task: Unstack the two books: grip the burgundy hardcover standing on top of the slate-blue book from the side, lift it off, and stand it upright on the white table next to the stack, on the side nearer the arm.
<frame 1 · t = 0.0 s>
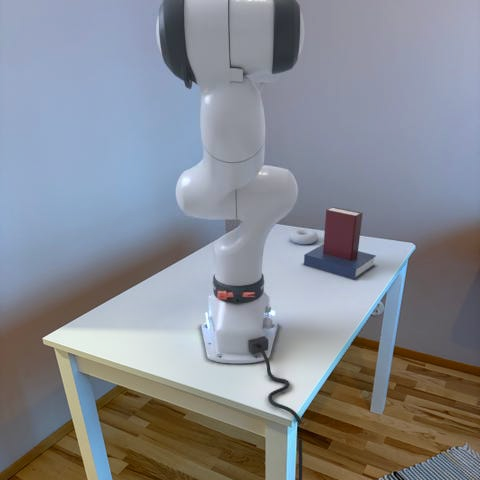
hand: (238, 103, 118), 48 cm above the table, tool pointing down, fingers open, 8 cm apart
burgundy book: (339, 255, 146), point 3 cm above the table, touching slate book
donut: (303, 241, 167), on the table
slate book: (338, 265, 147), on the table, touching burgundy book
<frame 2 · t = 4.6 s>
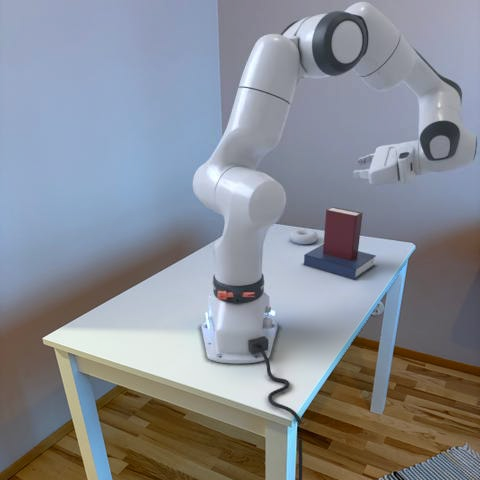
hand: (355, 168, 130), 31 cm above the table, tool horizontal, fingers open, 8 cm apart
nothing on the table moved.
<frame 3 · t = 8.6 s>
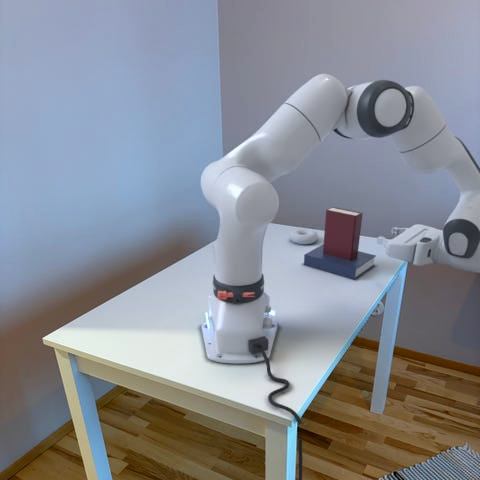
hand: (385, 235, 133), 13 cm above the table, tool horizontal, fingers open, 8 cm apart
nothing on the table moved.
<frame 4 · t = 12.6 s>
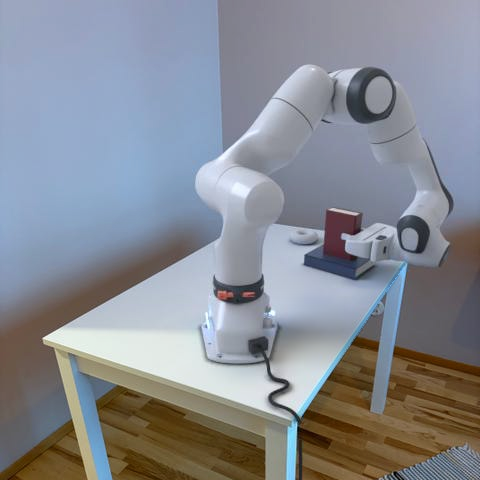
hand: (346, 233, 141), 11 cm above the table, tool horizontal, fingers closed on burgundy book, 4 cm apart
burgundy book: (339, 254, 146), point 4 cm above the table, touching gripper, slate book
everything else where it was.
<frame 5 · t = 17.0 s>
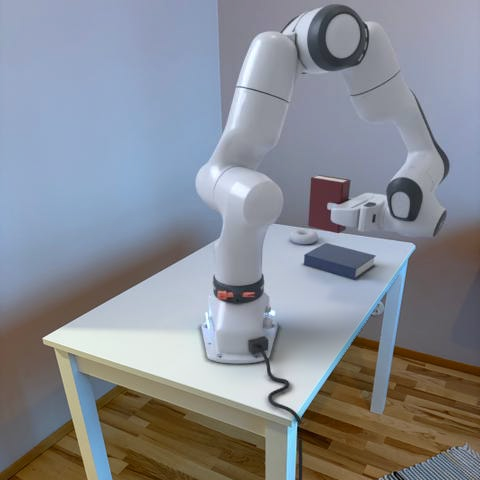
hand: (333, 203, 129), 22 cm above the table, tool horizontal, fingers closed on burgundy book, 4 cm apart
burgundy book: (326, 228, 133), point 15 cm above the table, touching gripper
slate book: (338, 265, 147), on the table
everything else where it was.
when the fingers open (7 cm above the table, at t = 21.8 s): burgundy book stays where it is, on the table.
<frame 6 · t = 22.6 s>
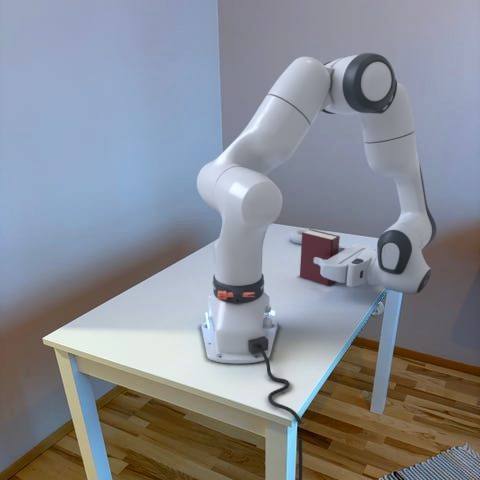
hand: (323, 254, 134), 8 cm above the table, tool horizontal, fingers open, 8 cm apart
burgundy book: (317, 279, 139), on the table
everything else where it was.
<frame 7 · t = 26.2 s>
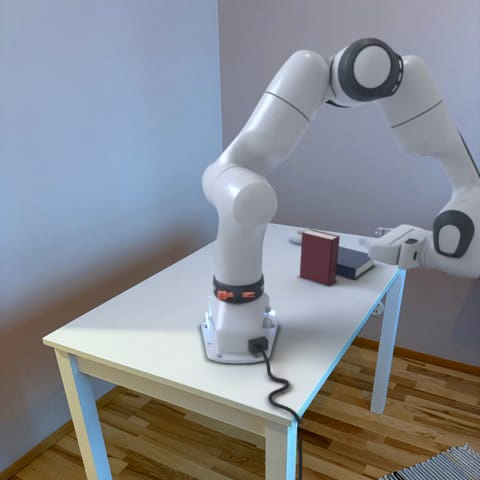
hand: (368, 235, 122), 17 cm above the table, tool horizontal, fingers open, 8 cm apart
nothing on the table moved.
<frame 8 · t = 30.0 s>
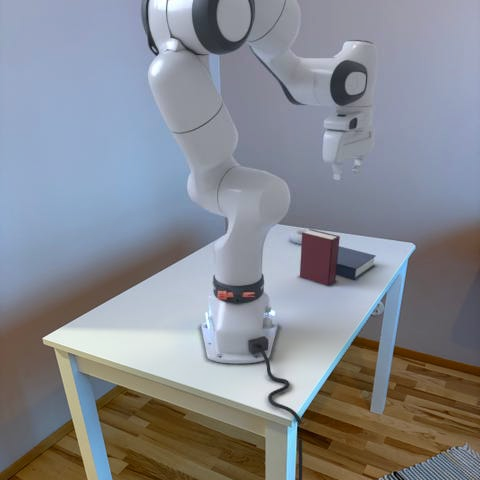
hand: (347, 176, 120), 31 cm above the table, tool pointing down, fingers open, 8 cm apart
nothing on the table moved.
at the end: burgundy book touching table; burgundy book inside the target area (0.4 cm from its centre), on the table; burgundy book tilted 0° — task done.
